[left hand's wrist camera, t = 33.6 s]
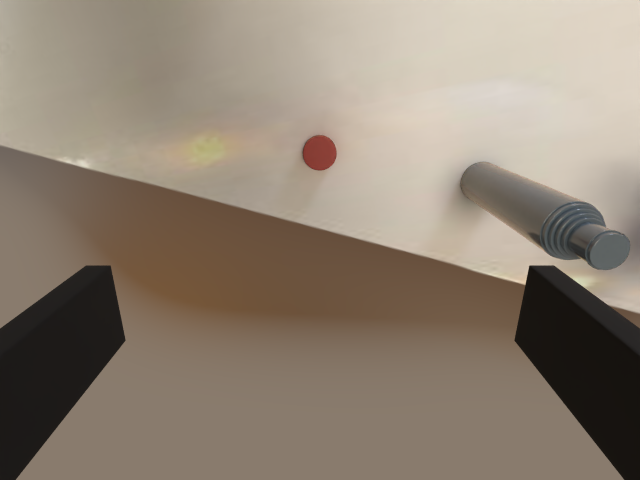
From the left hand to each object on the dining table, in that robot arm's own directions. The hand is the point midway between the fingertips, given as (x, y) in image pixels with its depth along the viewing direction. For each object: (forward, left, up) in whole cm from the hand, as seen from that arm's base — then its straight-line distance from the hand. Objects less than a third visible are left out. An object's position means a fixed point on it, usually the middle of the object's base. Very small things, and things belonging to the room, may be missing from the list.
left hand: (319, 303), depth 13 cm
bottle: (+20, 0, -36) cm, 41 cm away
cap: (0, 0, -35) cm, 35 cm away
